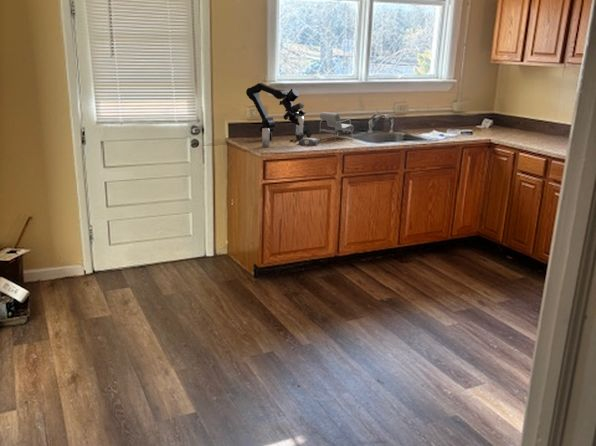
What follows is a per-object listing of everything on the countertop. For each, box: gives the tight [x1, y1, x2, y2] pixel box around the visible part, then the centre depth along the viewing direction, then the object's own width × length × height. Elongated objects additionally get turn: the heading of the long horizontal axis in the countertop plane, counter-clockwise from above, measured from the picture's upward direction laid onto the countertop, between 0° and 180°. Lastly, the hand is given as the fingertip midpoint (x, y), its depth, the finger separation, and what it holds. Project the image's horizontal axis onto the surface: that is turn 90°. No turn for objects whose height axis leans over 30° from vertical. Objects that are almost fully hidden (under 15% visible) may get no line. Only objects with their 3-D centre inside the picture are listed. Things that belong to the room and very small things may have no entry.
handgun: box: [295, 121, 312, 141], centre depth 412 cm, size 2×17×12 cm, turn 150°
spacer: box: [261, 128, 270, 149], centre depth 374 cm, size 5×5×12 cm
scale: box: [298, 137, 321, 147], centre depth 392 cm, size 12×15×4 cm
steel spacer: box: [295, 115, 305, 136], centre depth 382 cm, size 5×5×12 cm
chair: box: [319, 111, 355, 142], centre depth 415 cm, size 13×25×20 cm, turn 142°
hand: (301, 124), depth 382 cm, fingers closed on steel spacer, 5 cm apart
